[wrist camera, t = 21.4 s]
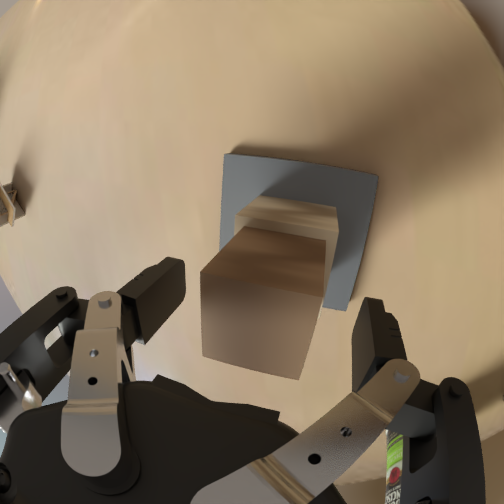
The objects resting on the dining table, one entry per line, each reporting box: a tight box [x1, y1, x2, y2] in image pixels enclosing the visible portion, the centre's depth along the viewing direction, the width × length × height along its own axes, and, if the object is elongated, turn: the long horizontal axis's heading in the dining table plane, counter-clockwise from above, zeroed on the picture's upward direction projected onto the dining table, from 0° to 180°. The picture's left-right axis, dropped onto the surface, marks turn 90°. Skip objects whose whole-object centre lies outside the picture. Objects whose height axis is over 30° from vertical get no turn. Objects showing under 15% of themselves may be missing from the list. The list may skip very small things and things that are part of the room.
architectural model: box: [0, 183, 25, 227], centre depth 24 cm, size 3×7×7 cm, turn 50°
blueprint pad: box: [219, 153, 378, 311], centre depth 19 cm, size 10×10×1 cm
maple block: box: [234, 195, 339, 319], centre depth 16 cm, size 5×5×5 cm
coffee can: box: [385, 429, 403, 504], centre depth 17 cm, size 10×10×14 cm
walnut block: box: [200, 226, 326, 380], centre depth 12 cm, size 4×4×5 cm
